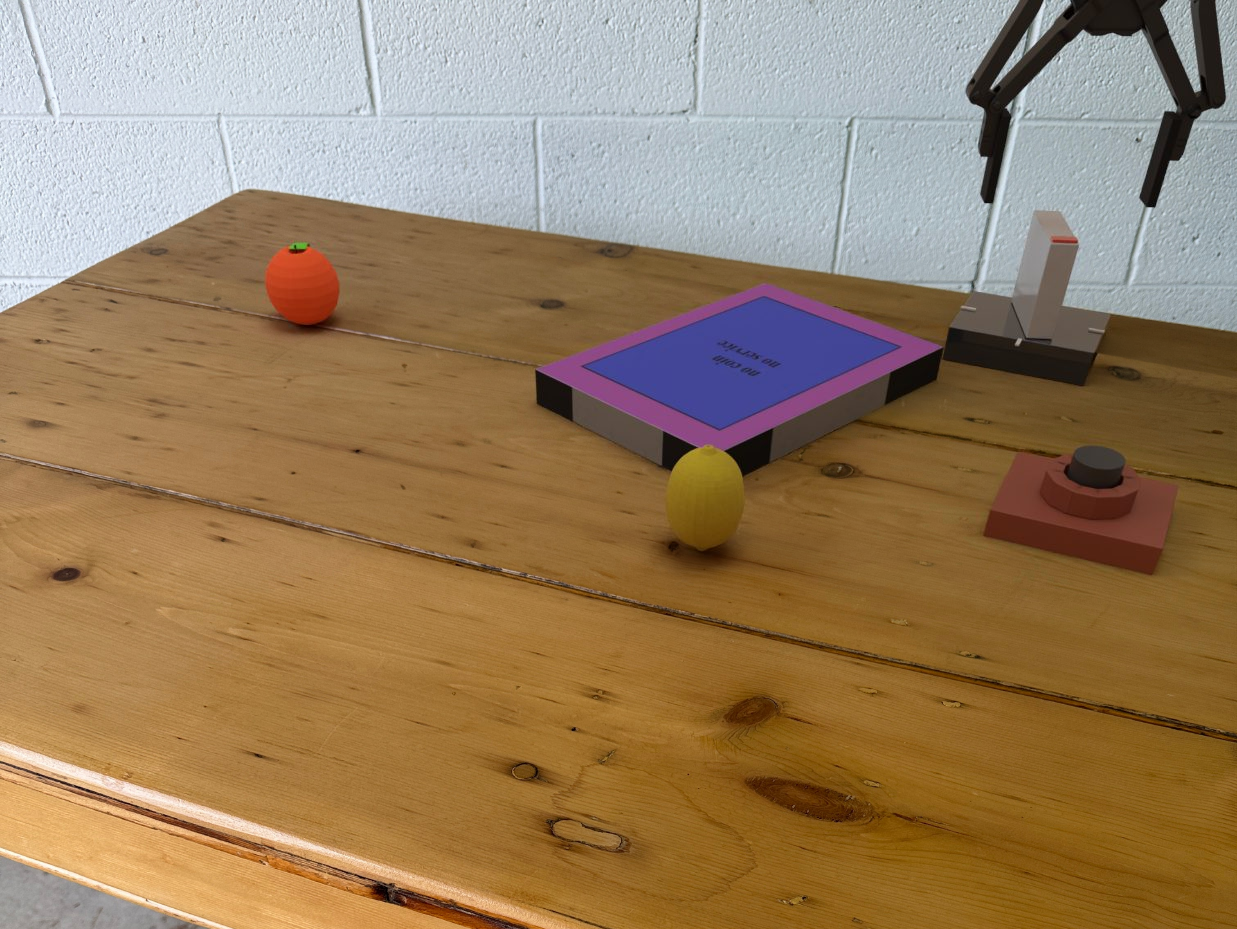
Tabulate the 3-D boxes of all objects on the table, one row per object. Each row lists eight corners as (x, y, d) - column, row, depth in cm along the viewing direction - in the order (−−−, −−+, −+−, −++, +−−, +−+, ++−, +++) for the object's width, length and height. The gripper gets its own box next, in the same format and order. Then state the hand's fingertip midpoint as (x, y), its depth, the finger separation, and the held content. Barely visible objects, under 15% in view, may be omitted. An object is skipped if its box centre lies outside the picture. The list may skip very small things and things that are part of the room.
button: (1121, 474, 81) (1129, 451, 80) (1113, 496, 79) (1122, 473, 78) (1071, 463, 83) (1078, 441, 81) (1062, 485, 80) (1069, 462, 79)
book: (943, 346, 99) (714, 455, 84) (936, 379, 101) (711, 491, 86) (766, 282, 110) (535, 369, 95) (763, 314, 112) (536, 403, 97)
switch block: (1168, 511, 85) (1187, 462, 82) (1152, 575, 78) (1172, 525, 76) (1010, 477, 88) (1024, 429, 86) (982, 536, 82) (996, 486, 79)
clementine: (286, 304, 112) (271, 228, 107) (354, 305, 112) (342, 229, 107) (265, 335, 107) (248, 257, 102) (336, 337, 107) (323, 258, 102)
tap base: (1104, 340, 108) (1115, 306, 105) (1082, 393, 99) (1093, 357, 97) (969, 316, 112) (976, 283, 109) (936, 365, 103) (944, 331, 101)
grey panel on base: (1010, 300, 107) (1034, 206, 101) (1036, 302, 106) (1061, 207, 101) (1025, 338, 100) (1051, 240, 94) (1052, 339, 100) (1080, 241, 94)
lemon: (746, 536, 82) (756, 433, 76) (731, 576, 78) (740, 470, 72) (673, 525, 83) (678, 422, 77) (655, 564, 79) (658, 459, 73)
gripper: (981, -116, 79) (924, 210, 94) (1344, -114, 77) (1227, 218, 92) (968, -126, 85) (916, 184, 100) (1307, -125, 83) (1203, 191, 98)
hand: (1066, 201), depth 96 cm, fingers open, 13 cm apart
